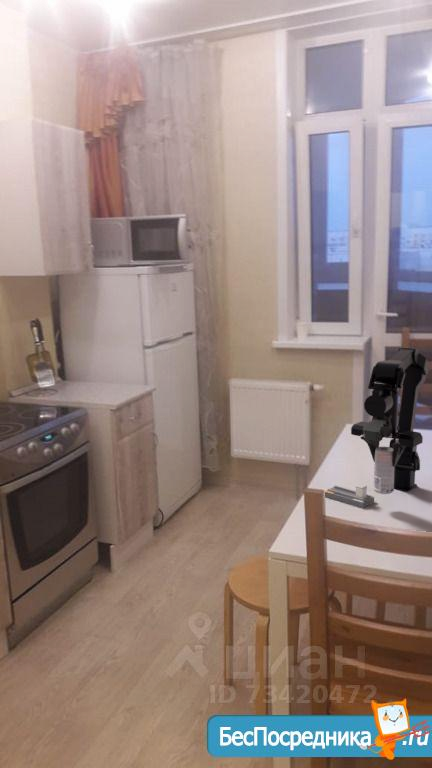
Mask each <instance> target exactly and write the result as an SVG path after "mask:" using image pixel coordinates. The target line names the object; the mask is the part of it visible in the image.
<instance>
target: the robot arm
mask: <svg viewBox="0 0 432 768" xmlns="http://www.w3.org/2000/svg"><path fill="white" fill-rule="evenodd" d="M429 365H430V364H429V362H428V358H427V357H425V355H423V354H421V353H420V352H419V350H418V349H417V348H415V347H406V346H405V347H403V346H402V347H398V350H397V352H396V353H395V354H393V356H392V357H390V359H388V360H380V361H377V362H376V363H375V365H374V366H373V368H372V371H371V374H370V379H369V383H368V386H367V389H368V390H372V391H371V394H370V395H369V396H368V397H366V399H365V400H364V402H363V403H364V404H363V407H364V410H365V412H366V414H368V415H369V416H371V417H372V418H371V420H370V421H368V422H366V421H362V420H361V421H359V422H356V423H353V425H351V427H350V434H351V435H352V436H357V437H360V440H363V441H364V442H365V443H366V444H367V446H368V449H369V451H370V455H371V458H372V460H373V463H375V450H376V448H377V447H380V442H381V441H382V440H383V438H386V439H390V441H389V446H388V447H390V448H393V459H392V466H393V467H394V466H395V469H394V490H395V489H396V490H400V491H403V492H409V491H411V490H413V489H414V488H416V487H418V484H417V483H415V482H416V481H415V480H416V472H417V471H420V470H421V459H420V455H419V453H418V451H417V447H418V446H419V445H420V444H422V443H423V438H424V437H423V435H422V434H421V432H418V431H414V426H415V420H416V419H415V418H416V412H417V404H418V397H419V389H420V388H421V387H422V385H423V384H424V383H425V382H426V379H427V378H426V377H427V376H428V374H429V372H430V371H429V370H430V366H429ZM400 389H402V393H401V399H400V407H399V391H400Z"/></svg>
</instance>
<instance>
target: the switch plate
mask: <svg viewBox="0 0 432 768" xmlns="http://www.w3.org/2000/svg"><path fill="white" fill-rule="evenodd" d="M324 491H325V497H324V498H328V499H332V500H334V501H339V502H341V503H345V504H347V505H352V506H355V507H359V508H362V509H364V508H366V507H368V506H369V505H371V504H373V503H375V496H373V495H371V494H367V493H366V498H364V499H363V498H359V497H356V490H353V489H350V488H346V487H342V486H339V485H333V486H332V487H330V488H327V490H324Z"/></svg>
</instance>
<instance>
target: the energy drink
mask: <svg viewBox="0 0 432 768" xmlns="http://www.w3.org/2000/svg"><path fill="white" fill-rule="evenodd" d="M392 459H393V448H390V447H389V446H379V447H377V448H376V450H375V462H374V463H373V464H374V467H373V468H374V470H373V473H374V475H373V491H374V492H375V493H376V494H380V495H381V494H382V495H390V494H393V492H395V491H394V490H395V488H394V469H395V466H394V467H393V466H392Z"/></svg>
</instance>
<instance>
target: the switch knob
mask: <svg viewBox="0 0 432 768" xmlns="http://www.w3.org/2000/svg"><path fill="white" fill-rule="evenodd" d="M367 487H368V485H366V484H362V483H360V484H358V485H356V486H355V491H356V497H359V498H363V499H364V498H366V494H367V489H368V488H367Z"/></svg>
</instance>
